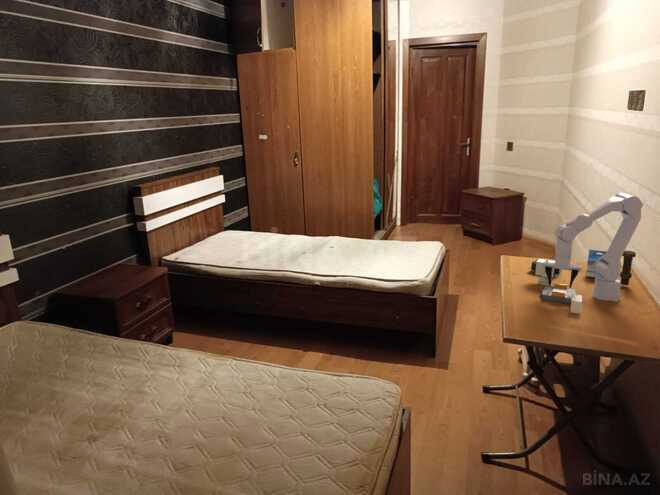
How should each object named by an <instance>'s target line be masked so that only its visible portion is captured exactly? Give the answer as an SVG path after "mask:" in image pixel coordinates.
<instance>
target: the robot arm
mask: <svg viewBox="0 0 660 495" xmlns="http://www.w3.org/2000/svg"><path fill="white" fill-rule="evenodd" d="M643 206H644V204H643V202H642V200H641V198H640V197H638V196H636V195H631V194H628V193H625V192H624V191H623V192H622V191H621V192H618V193H616V194H615V195H613V196H610V197H609V198H608V200H606V202H604V203H603V204H601V205H599V206H598V207H596V208H595V209H594V210H592V211H590V212H589V213H588V214H585V213H582V214H577V216H576V218H573V219H572V220H570V221H567V222H565V224H561V225H559V226H557V229H555V231H554V234H555V236H556V238H557V239H556V245H555V257H554V261H555V262H543V268H545V272H546V274H547V277H548V281H549V286H552V283H551V279H552V277H551V276H552V268H555V269H561V270H565V271H571V273H570V281H569V287H568V289H572V285H573V283H574V281H575V279H576V277H577V276H578V275H579V273H582V270H583V265H582V266H581V265H576V264H571V259H572V250H573V248H572V247H573V241H574V240H575V238H576V237H577V235H579V234H580V233H582V232H584V231H585V230H587V229H589V228H590V227H591V226H592V225H593V222H595V221H596V220H598V219H601V218H602V217H605V215H608V214H610V213H611V212H619V213H620V214H621V216H622V218H623V219H622V221H621V223H620V225H619V227H618V229H617V231H616V233H615V234H614V236H613V239H612V240H611V243H610V245H609V247H608V249H607V253H606V254H605V255H603V254H602V255H603V256H601V257H600V259H599V260H598V261H597V262H596V263H595V264H594V267H593V269H594V271H595V272H596V276H595V278H594V284H593V285H594V286H593V293H592V297H593V298H594V299H597V300H601V301H610V302H619V299H620V298H621V297H620V296H621V292H620V291H621V285H622V284H621V279H620V280H619V277H620V272H621V268H622V263H621V262H622V261H621V259H622V257H623V256H622V255H623V253H624V251H626V248H627V246H628V245H629V243H630V241H631V239H632V237H633V236H634V233H635V231H636V229H637V228H638V226H639V223H640V221H641V220H642V209H643V208H642V207H643Z"/></svg>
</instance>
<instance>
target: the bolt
mask: <svg viewBox="0 0 660 495" xmlns="http://www.w3.org/2000/svg"><path fill="white" fill-rule="evenodd" d="M636 254H637V252H636V251H632V250H625V251H624V253H623V255H622V257H623V261H622V262H623V263H622V267H621V268H622V270H621V271H620V275H619V277H620V280H621V284H620V285H622V286H629V284H630V279H631V278H632V275H633V273H632V272H631V270H632V263H633V258H636Z"/></svg>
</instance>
